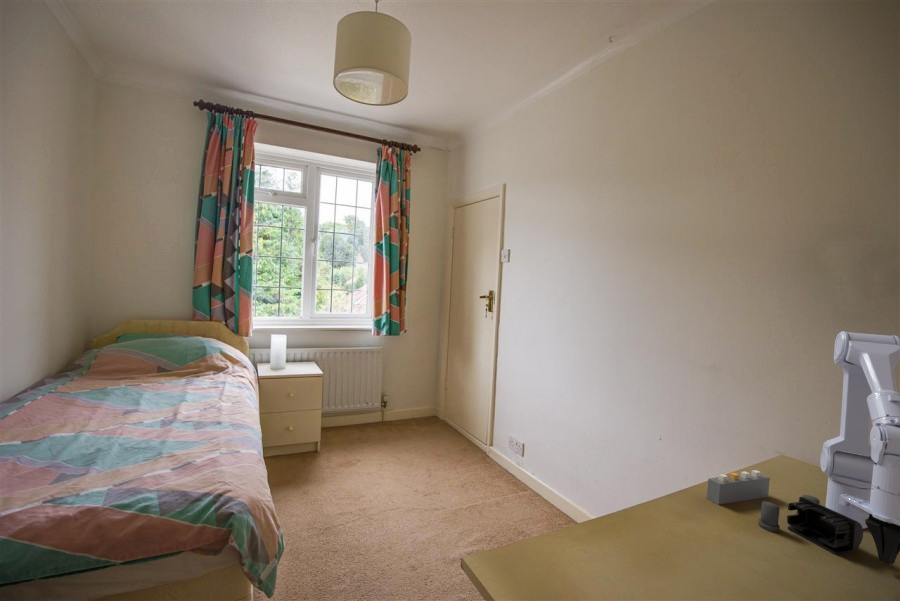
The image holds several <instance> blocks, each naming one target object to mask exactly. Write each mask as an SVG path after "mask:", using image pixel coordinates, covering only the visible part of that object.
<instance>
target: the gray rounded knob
mask: <svg viewBox="0 0 900 601" xmlns="http://www.w3.org/2000/svg"><path fill="white" fill-rule="evenodd" d="M780 509H781V508H780V506H779V505H777V504H776V503H773V502H770V501H765V500H763V501H762V502H761V509H760V510H761V513H760V518H759V519H758V523H757V524H758V526H759V527H760V528H762V529H763V530H766V531H768V532H771V533H779V532H780V525H779V518H780V517H779V516H780Z"/></svg>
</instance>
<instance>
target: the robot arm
mask: <svg viewBox="0 0 900 601" xmlns="http://www.w3.org/2000/svg"><path fill="white" fill-rule="evenodd" d="M833 361H834V365H836V366H838V367H840V368H842V373H843V383H842V385H843V386H842V396H841V397H842V398H841V412H840V426H839V427H840V429H839V436H838V435H837V436H836V437H834V438H830V439H828V440H826V441H824V443H823V444H822V450H821V453H820V457H819V458H820V459H819V462H820V469H821V471H822V472H823V474H824V475H825V476H827V487H826V497H825V498H826V499H825V507H827V508H829V509H831V510H833V511H836V512H838V513H840V514H842V515H844V516H847V517H849V518H851V519H853V520H856V521H858V522H859V523H860V524H861V525H862V528H863V530H864V529H868V530H869V532H870V535H871V536H872V539H873V541H874V543H875V544H874V545H875V548H876V552H877V557H878V561H880V562H882V563H884V564H886V565H887V566H889V565H892V564H895V562H896V559H897V557H898V555H899V553H900V393H899V392H898V387H897V380H896V372H895V367H897V365H898V363H899V361H900V337H899V336H897V335H893V334H892V335H885V334H872V333H862V332H849V331H844V330H843V331H842V330H841V331H840V332H839V333H837V335H836V338H835V340H834V350H833ZM870 419H871V420H870ZM870 421H871V424H872V427H871V430H870ZM869 431H870V432H869Z"/></svg>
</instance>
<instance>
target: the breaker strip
mask: <svg viewBox="0 0 900 601" xmlns="http://www.w3.org/2000/svg"><path fill="white" fill-rule="evenodd" d="M770 478H771V477H769V476H767V475H765V474H762V472H761V471H759V470H757V469H755V470H751V472H747V471H745V470H744V471H740V474H738V473H736V472H731V473H729V475H726V474H724V473H721V474H718V476H717V477H711V478H710V477H709V478H707V479H708V480H707V490H706V491H707V492H706V499H707V500H708V501H710V502H713V503H714V504H716V505H725V504H731V503H737V502H743V501H745V502H746V501H751V500H757V499H763V498H768V497H769V490H770V480H771V479H770Z"/></svg>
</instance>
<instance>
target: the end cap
mask: <svg viewBox="0 0 900 601" xmlns="http://www.w3.org/2000/svg"><path fill="white" fill-rule="evenodd" d="M787 510H788V511H796V513H795V514H789V515H787V516H786V522H787V524H788V526H787V530H788V531H790V532H792V533H793V534H796V535H797V536H799V537H801V538H802V539H804V540H807V541H808V542H810V543H812V544H814V545H816V546H817V547H820V548H821V549H823V550H824V551H827V552H829V553H830V554H833V555H834V556H840V555H846V554H849V553H851V552H854V551H856V550H857V549H858V548H859V546H860V545H861V543H862V542H863V540H864V529H863V528H862V525H861V524H860V523H859V522H858V521H856V520H853V519H851V518H849V517H847V516H844V515H842V514H840V513H838V512H836V511H833V510H831V509H829V508H827V507H826V506H825V505H822V504H820V503H819V504H818V503H816V502H813V501H811V500H809V499H807V498H804V497H802V496H799V499H798V501H796V502H789V503H788V506H787Z"/></svg>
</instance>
